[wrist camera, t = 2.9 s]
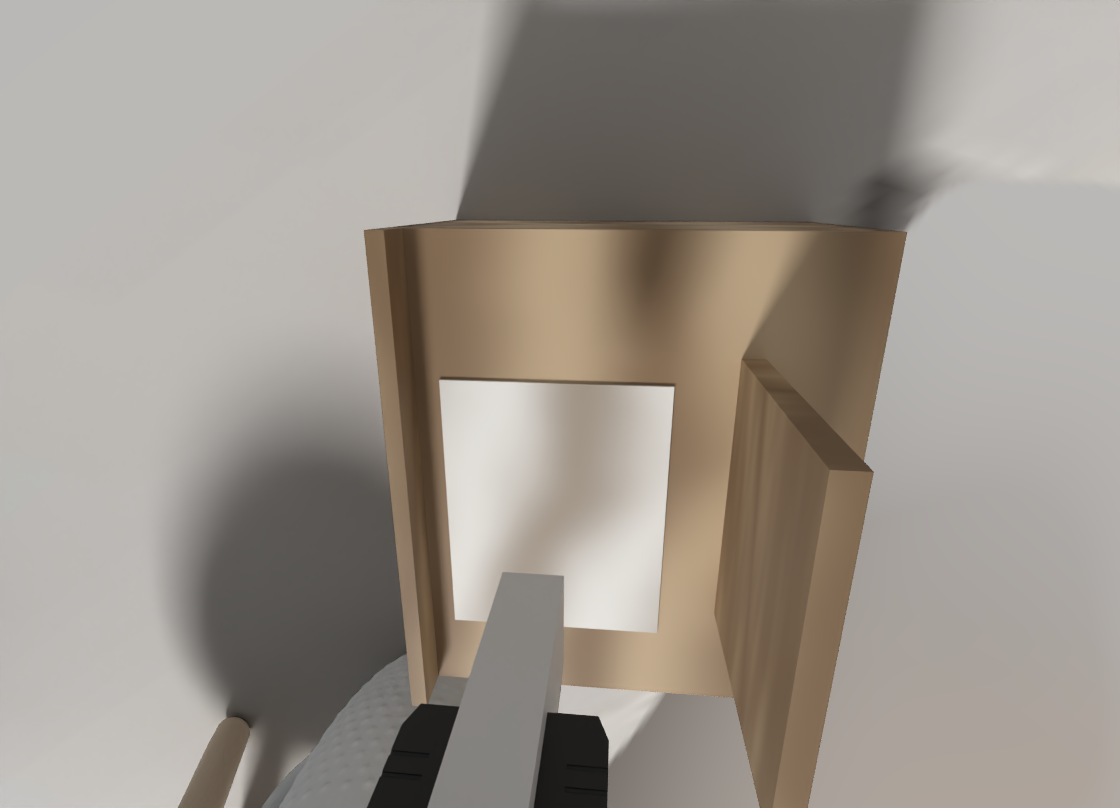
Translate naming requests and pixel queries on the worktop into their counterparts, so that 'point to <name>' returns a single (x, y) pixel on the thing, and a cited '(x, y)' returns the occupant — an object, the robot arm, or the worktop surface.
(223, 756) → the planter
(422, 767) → the robot arm
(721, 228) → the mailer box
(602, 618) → the lid
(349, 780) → the mug
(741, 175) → the worktop surface
